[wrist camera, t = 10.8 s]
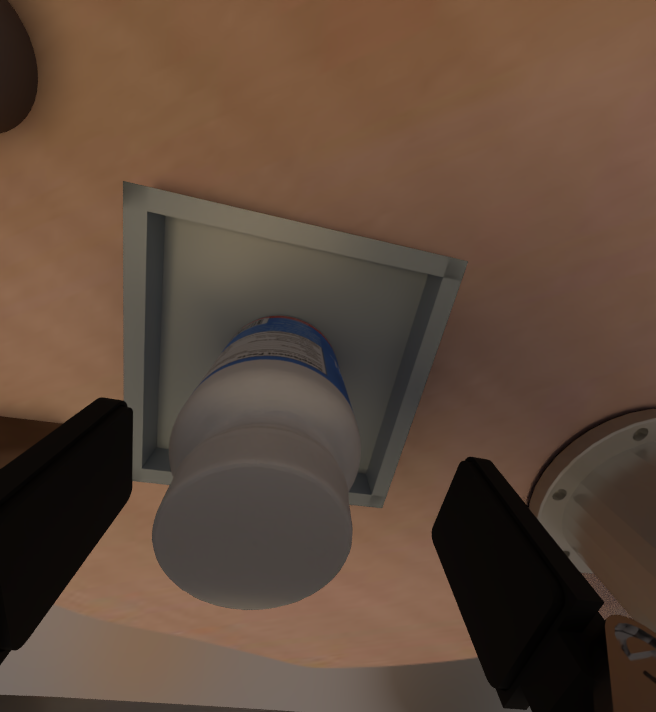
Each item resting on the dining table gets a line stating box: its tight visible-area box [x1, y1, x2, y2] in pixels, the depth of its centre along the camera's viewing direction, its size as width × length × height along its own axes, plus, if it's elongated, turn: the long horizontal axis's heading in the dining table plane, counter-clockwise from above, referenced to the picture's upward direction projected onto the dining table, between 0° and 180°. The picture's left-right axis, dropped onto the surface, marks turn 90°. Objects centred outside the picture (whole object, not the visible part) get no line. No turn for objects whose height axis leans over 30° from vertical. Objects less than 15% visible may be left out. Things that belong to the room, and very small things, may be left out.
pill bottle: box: [152, 316, 361, 610], centre depth 11 cm, size 6×5×10 cm
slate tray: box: [123, 181, 468, 508], centre depth 15 cm, size 13×13×2 cm
